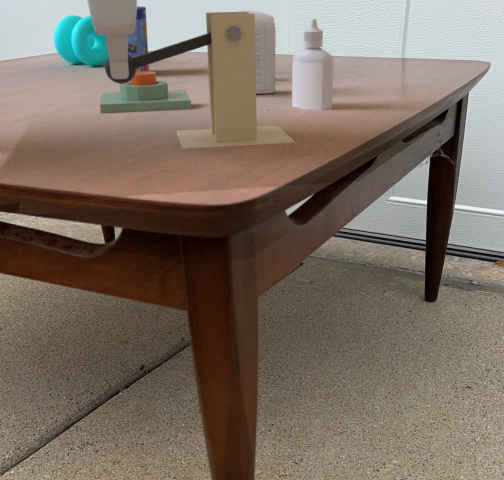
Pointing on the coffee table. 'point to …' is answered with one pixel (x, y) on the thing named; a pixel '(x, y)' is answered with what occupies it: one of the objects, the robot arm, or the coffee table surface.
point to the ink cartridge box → (139, 37)
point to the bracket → (232, 87)
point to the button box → (144, 98)
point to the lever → (159, 55)
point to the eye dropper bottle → (312, 73)
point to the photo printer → (264, 52)
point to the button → (144, 78)
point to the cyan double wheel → (80, 41)
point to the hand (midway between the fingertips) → (120, 75)
